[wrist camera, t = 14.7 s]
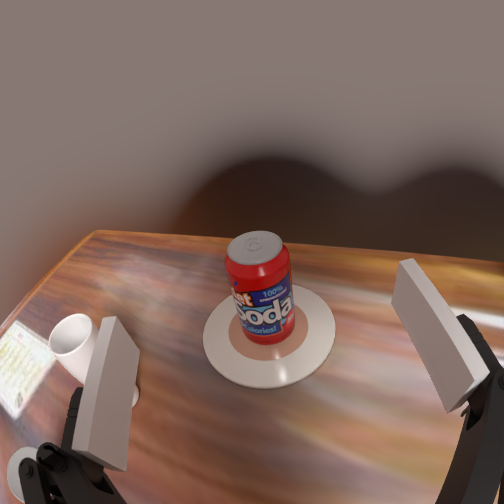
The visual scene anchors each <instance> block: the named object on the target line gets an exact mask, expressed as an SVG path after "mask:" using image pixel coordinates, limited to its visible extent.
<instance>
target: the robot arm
mask: <svg viewBox="0 0 504 504" xmlns="http://www.w3.org/2000/svg"><path fill="white" fill-rule="evenodd" d="M391 304H392V306H393V307H394V309H395V311H396V313H397V314H398V316H399V318H400V320H401V322H402V323H403V325H404V327H405V329H406V331H407V332H408V334H409V336H410V338H411V340H412V342H413V344H414V346H415V347H416V349H417V351H418V353H419V355H420V357H421V359H422V361H423V363H424V365H425V367H426V369H427V371H428V373H429V375H430V377H431V379H432V381H433V383H434V385H435V388H436V390H437V392H438V394H439V396H440V398H441V400H442V403H443V405H444V407H445V409H446V412H447V413H449V412H451V411H453V410H455V409H457V408H459V407H461V406H462V405H463V404H464V403H465V402H466V401H468V403H469V405H468V406H467V407H466V409H465V410H464V411H463V412H462V414H461V417H463V416H464V415H465V414H466V416H465V420H464V424H463V428H462V431H461V435H460V438H459V442H458V445H457V448H456V451H455V454H454V457H453V460H452V463H451V466H450V469H449V471H448V474H447V477H446V479H445V482H444V484H443V487H442V489H441V491H440V494H439V496H438V498H437V501H436V503H435V504H493V502H494V499H495V497H496V494H497V491H498V488H499V484H500V490H499V498H498V504H504V368H503V367H502V366H501V365H500V363H499V362H498V360H497V358H496V357H495V355H494V353H493V352H492V350H491V349H490V347H489V345H488V344H487V342H486V341H485V339H483V336H482V334H481V333H480V332H479V330H478V328H477V327H476V325H475V324H474V322H473V321H472V320H471V319H469V318H468V317H467V316H466V315H464V314H462V315H459V316H457V317H456V316H455V315H454V313H453V312H452V311H451V309H450V308H449V306H448V305H447V303H446V302H445V300H444V299H443V298H442V296H441V295H440V293H439V292H438V291H437V289H436V288H435V286H434V285H433V284H432V282H431V281H430V280H429V278H428V277H427V276H426V274H425V273H424V272H423V270H422V269H421V268H420V267H419V265H418V264H417V263H416V261H415V260H414V259H413V258H411V259H407V260H403V261H399V266H398V272H397V277H396V283H395V288H394V293H393V297H392V302H391ZM139 356H140V350H139V349H138V347H137V346H136V344H135V343H134V342H133V340H132V339H131V337H130V336H129V334H128V333H127V331H126V330H125V328H124V327H123V325H122V324H121V322H120V321H119V319H118V318H117V316H112V317H105V318H103V320H102V323H101V326H100V329H99V333H98V336H97V339H96V343H95V346H94V350H93V353H92V357H91V360H90V364H89V368H88V372H87V376H86V380H85V384H84V387H77V389H76V390H75V392H74V393H73V395H72V397H71V401H70V405H69V410H68V414H67V416H68V418H67V419H66V424H65V429H64V434H63V439H62V445H61V448H59V447H57V446H56V445H54V444H52V443H49V442H46V443H44V444H42V445H41V446H40V447H39V448H38V450H37V453H36V461H35V460H33V459H31V458H29V457H26V458H24V459H22V460H21V462H20V464H19V467H18V473H19V479H20V484H21V489H22V493H23V498H24V502H25V504H127V503H126V502H125V501H124V499H123V498H122V496H121V495H120V494H119V492H118V491H117V489H116V488H115V487H114V485H113V484H112V482H111V481H110V479H109V478H108V476H107V475H106V474H105V473H104V472H103V469H104V467H105V468H107V469H109V470H112V471H121V472H126V468H127V454H128V442H129V431H130V422H131V413H132V404H133V397H134V389H135V382H136V375H137V369H138V362H139ZM500 481H501V482H500ZM51 495H52V498H51Z"/></svg>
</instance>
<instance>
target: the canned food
mask: <svg viewBox="0 0 504 504" xmlns="http://www.w3.org/2000/svg"><path fill="white" fill-rule="evenodd" d="M37 450H38V449H37V448H35V447H31V446H26V447H22V448H20V449H18V450H17V451H16V452H15V453H14V454H13V455H12V457H11V458H10V460H9V463H8V467H7V481H8V485H9V487H10V490H11V491H12V493H13V494H14V496H15V497H16V498H17V499H18V500H20V501H21V502H23V503H25V502H24V498H23V493H22V489H21V484H20V479H19V473H18V467H19V464H20V462H21V460H22V459H24V458H26V457H29V458H31V459H33V460H35V461H36V453H37ZM51 498H52V495H51Z"/></svg>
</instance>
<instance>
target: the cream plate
mask: <svg viewBox="0 0 504 504" xmlns="http://www.w3.org/2000/svg"><path fill="white" fill-rule="evenodd" d="M292 287H293V299H294V311H295V327H294V330H293V332H292V333H291V335H290V336H289V337H288V338H286V339H285V340H284V341H282V342H280V343H277V344H273V345H259V344H256V343H254V342H252V341H250V340H249V339H248V338H247V337H246V336H245V335H244V333H243V330H242V327H241V323H240V320H239V316H238V313H237V309H236V305H235V302H234V298H233V295H231V296H229V297H227V298H226V299H225V300H223V301H222V302H221V303H220V304H219V305H218V306H217V307H216V308H215V309H214V310H213V312H212V313H211V315H210V316H209V318H208V320H207V322H206V324H205V328H204V332H203V345H204V350H205V352H206V355H207V357H208V359H209V361H210V363H211V364H212V366H213V367H214V368H215V370H216V371H217V372H218V373H219V374H221V375H222V376H223V377H224V378H226V379H228V380H229V381H231V382H233V383H236V384H238V385H241V386H244V387H248V388H255V389H273V388H280V387H284V386H288V385H291V384H294V383H297V382H299V381H301V380H303V379H305V378H306V377H308V376H309V375H311V374H312V373H313V372H315V371H316V370H317V369H318V368H319V367H320V366H321V365H322V364H323V363H324V361H325V360H326V359H327V357H328V355H329V354H330V352H331V349H332V347H333V343H334V339H335V321H334V317H333V314H332V312H331V310H330V308H329V307H328V305H327V304H326V303H325V302H324V300H323V299H322V298H320V297H319V296H318V295H317V294H315V293H313V292H312V291H310V290H308V289H306V288H303V287H300V286H297V285H293V284H292Z"/></svg>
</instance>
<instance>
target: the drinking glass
mask: <svg viewBox="0 0 504 504" xmlns="http://www.w3.org/2000/svg"><path fill="white" fill-rule="evenodd" d="M98 333H99V329H98V328H97V326H96V325H95V324H94V322H93V321H92V320H91V318H90V317H89V316H87V315H85V314H73V315H70V316H68V317H66V318H64V319H63V320H62V321H60V322H59V323H58V324H57V325H56V326H55V328H54V329H53V331H52V332H51V334H50V337H49V343H48V344H49V349H50V351H51V352H52V354H53V355H54V356H55V357H56V359H57V360H58V361H59V362H60V363H61V365H62V366H63V367H64V368H65V369H66V370H67V371H68V372H69V373H70V374H71V375H72V376H74V377H75V378H76V379H77V380H78V381H79V382H81V383H82V384H83V385H84V384H85V380H86V376H87V372H88V368H89V364H90V360H91V357H92V353H93V350H94V346H95V343H96V339H97V336H98ZM138 398H139V390H138V388H137V386H136V385H135V389H134V397H133V404H132V407H133V406H134V405H135V404H136V403H137V401H138Z"/></svg>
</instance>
